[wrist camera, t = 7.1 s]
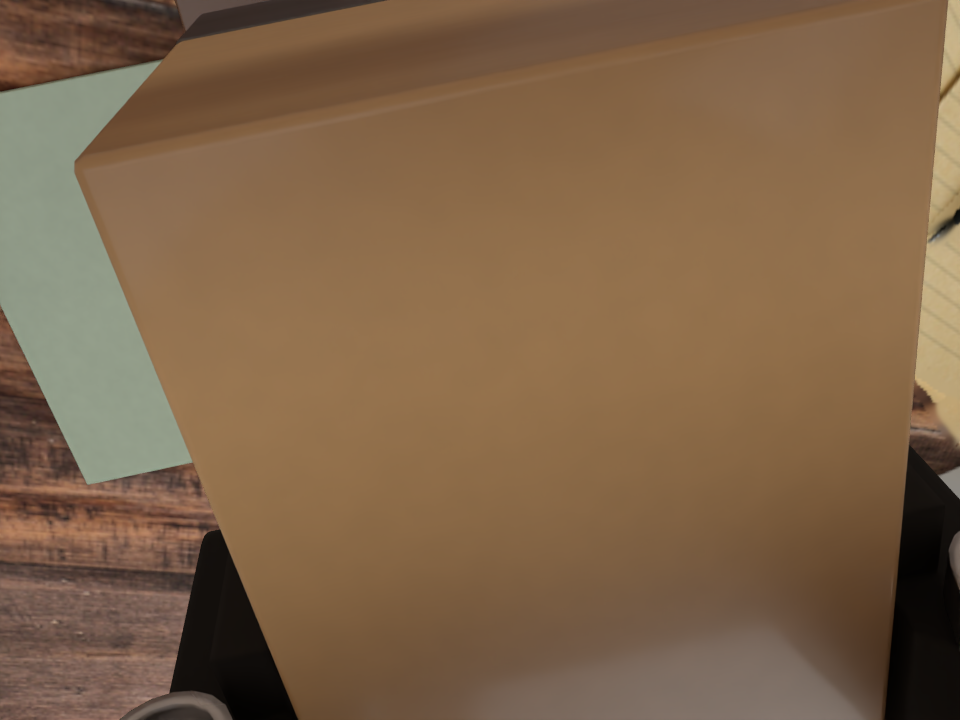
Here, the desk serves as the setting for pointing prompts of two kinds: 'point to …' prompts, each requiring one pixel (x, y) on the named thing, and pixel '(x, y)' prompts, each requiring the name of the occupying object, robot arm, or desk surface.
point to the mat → (76, 281)
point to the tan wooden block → (543, 341)
